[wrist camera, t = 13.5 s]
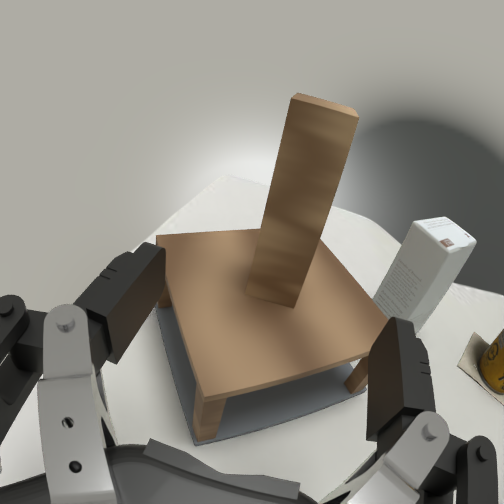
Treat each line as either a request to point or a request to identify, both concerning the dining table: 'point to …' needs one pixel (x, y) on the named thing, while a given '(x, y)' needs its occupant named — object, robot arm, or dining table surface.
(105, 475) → the robot arm
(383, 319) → the wooden stool with post
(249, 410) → the mat
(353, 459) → the dining table surface
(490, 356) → the condiment
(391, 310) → the skincare box
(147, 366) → the dining table surface
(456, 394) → the dining table surface
